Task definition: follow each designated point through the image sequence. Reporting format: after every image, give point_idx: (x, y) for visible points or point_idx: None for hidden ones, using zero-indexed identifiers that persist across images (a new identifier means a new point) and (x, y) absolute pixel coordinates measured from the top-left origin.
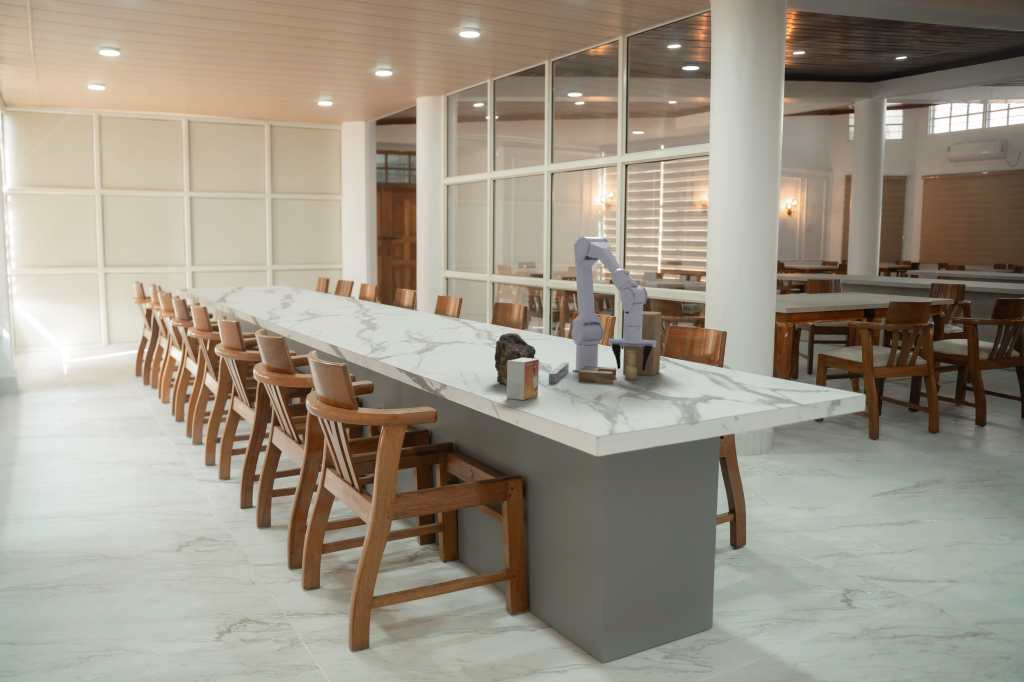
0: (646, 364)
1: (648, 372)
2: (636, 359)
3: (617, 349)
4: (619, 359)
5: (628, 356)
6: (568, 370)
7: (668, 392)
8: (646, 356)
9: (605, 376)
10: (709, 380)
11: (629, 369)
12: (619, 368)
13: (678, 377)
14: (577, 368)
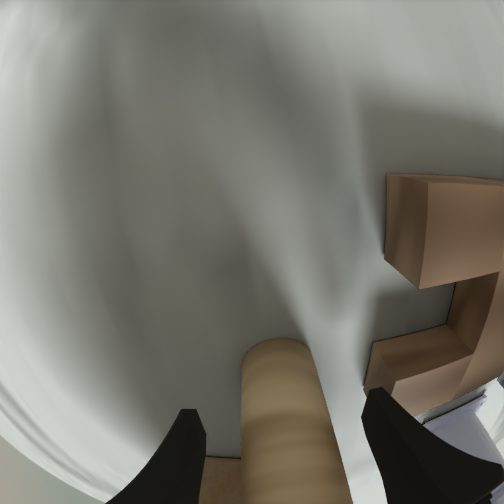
0: (226, 497)
1: (217, 468)
2: (245, 479)
3: (465, 490)
4: (396, 444)
5: (327, 486)
6: (499, 382)
7: (11, 67)
8: (136, 491)
9: (450, 180)
10: (25, 411)
11: (295, 393)
12: (371, 391)
13: (112, 448)
14: (474, 412)
